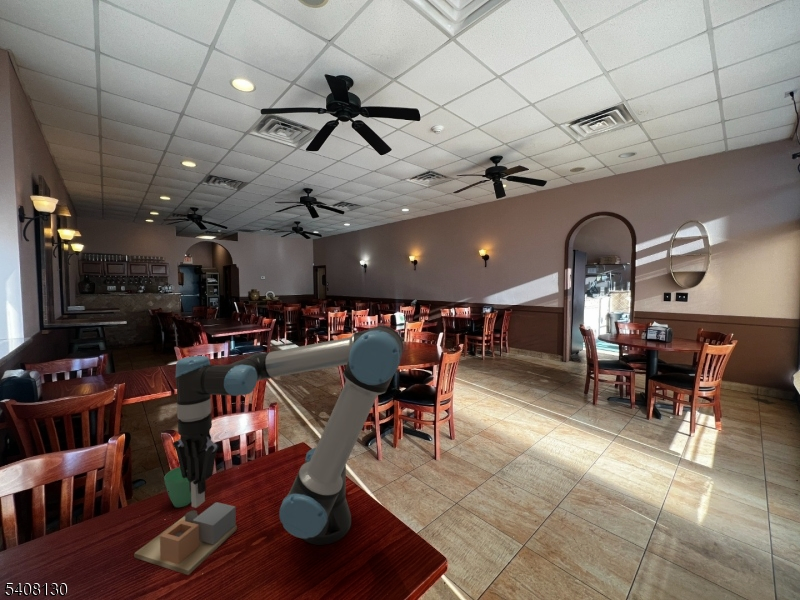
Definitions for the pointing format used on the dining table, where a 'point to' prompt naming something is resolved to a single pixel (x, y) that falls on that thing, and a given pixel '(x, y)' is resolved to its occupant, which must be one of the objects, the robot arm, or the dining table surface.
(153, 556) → the housing board
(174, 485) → the green rounded tapered part
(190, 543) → the orange open-topped box
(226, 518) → the cover
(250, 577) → the dining table surface
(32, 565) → the dining table surface
